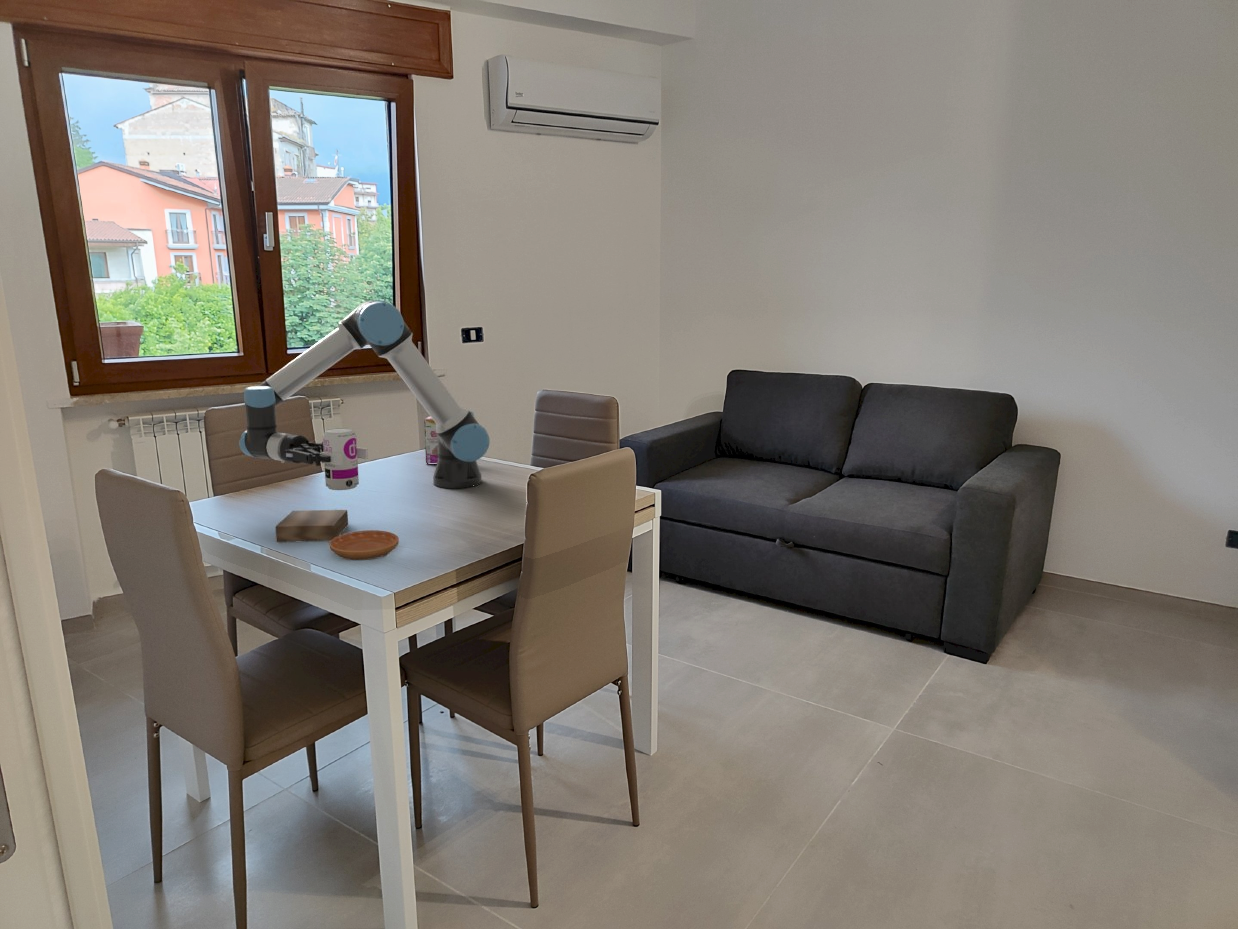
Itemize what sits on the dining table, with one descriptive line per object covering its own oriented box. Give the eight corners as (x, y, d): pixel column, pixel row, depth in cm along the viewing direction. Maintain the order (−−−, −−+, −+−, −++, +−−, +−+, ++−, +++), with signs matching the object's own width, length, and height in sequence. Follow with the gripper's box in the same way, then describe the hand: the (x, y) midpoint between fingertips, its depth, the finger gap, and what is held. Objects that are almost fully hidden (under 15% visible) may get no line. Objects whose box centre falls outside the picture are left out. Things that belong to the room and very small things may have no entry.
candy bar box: (425, 465, 287) (423, 418, 283) (430, 461, 291) (428, 416, 288) (456, 465, 286) (454, 419, 282) (460, 462, 290) (459, 417, 287)
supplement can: (365, 485, 216) (362, 428, 213) (345, 492, 209) (342, 434, 205) (339, 482, 219) (336, 426, 216) (319, 489, 211) (315, 431, 208)
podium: (348, 524, 217) (347, 509, 216) (334, 540, 204) (333, 525, 203) (293, 525, 216) (292, 510, 215) (276, 541, 202) (275, 526, 202)
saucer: (408, 555, 194) (407, 543, 194) (339, 567, 186) (338, 555, 185) (387, 537, 207) (386, 526, 207) (322, 548, 199) (321, 536, 198)
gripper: (320, 454, 229) (383, 463, 220) (258, 469, 211) (324, 479, 201) (318, 428, 228) (382, 436, 218) (256, 440, 209) (322, 449, 200)
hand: (354, 456), depth 210 cm, fingers closed on supplement can, 8 cm apart
